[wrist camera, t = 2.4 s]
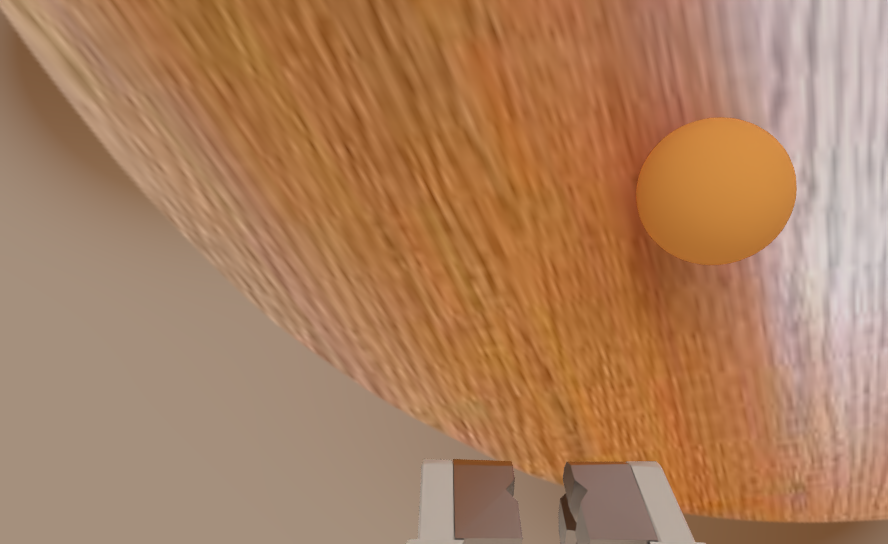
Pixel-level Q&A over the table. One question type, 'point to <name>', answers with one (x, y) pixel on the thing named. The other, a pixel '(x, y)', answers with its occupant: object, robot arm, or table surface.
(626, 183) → the table surface
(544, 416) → the table surface
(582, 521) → the robot arm
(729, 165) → the ball
